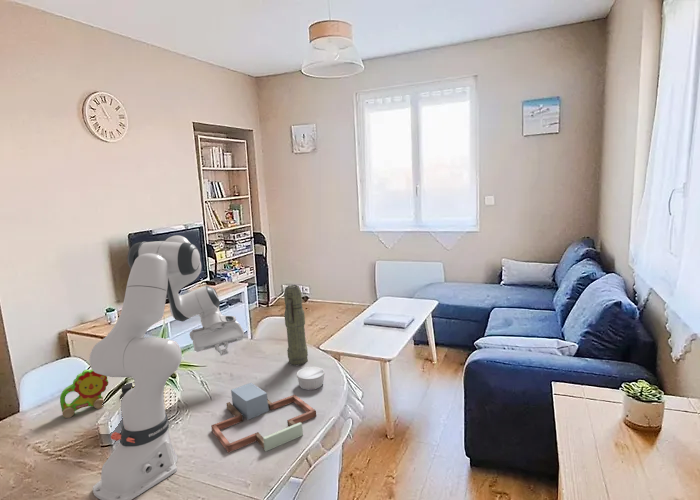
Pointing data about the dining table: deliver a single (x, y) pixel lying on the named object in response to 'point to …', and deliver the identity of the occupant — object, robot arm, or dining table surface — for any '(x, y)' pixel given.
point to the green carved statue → (295, 326)
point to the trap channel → (256, 436)
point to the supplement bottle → (125, 389)
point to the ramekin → (310, 377)
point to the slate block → (249, 400)
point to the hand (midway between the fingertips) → (224, 354)
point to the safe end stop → (282, 436)
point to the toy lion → (84, 392)
